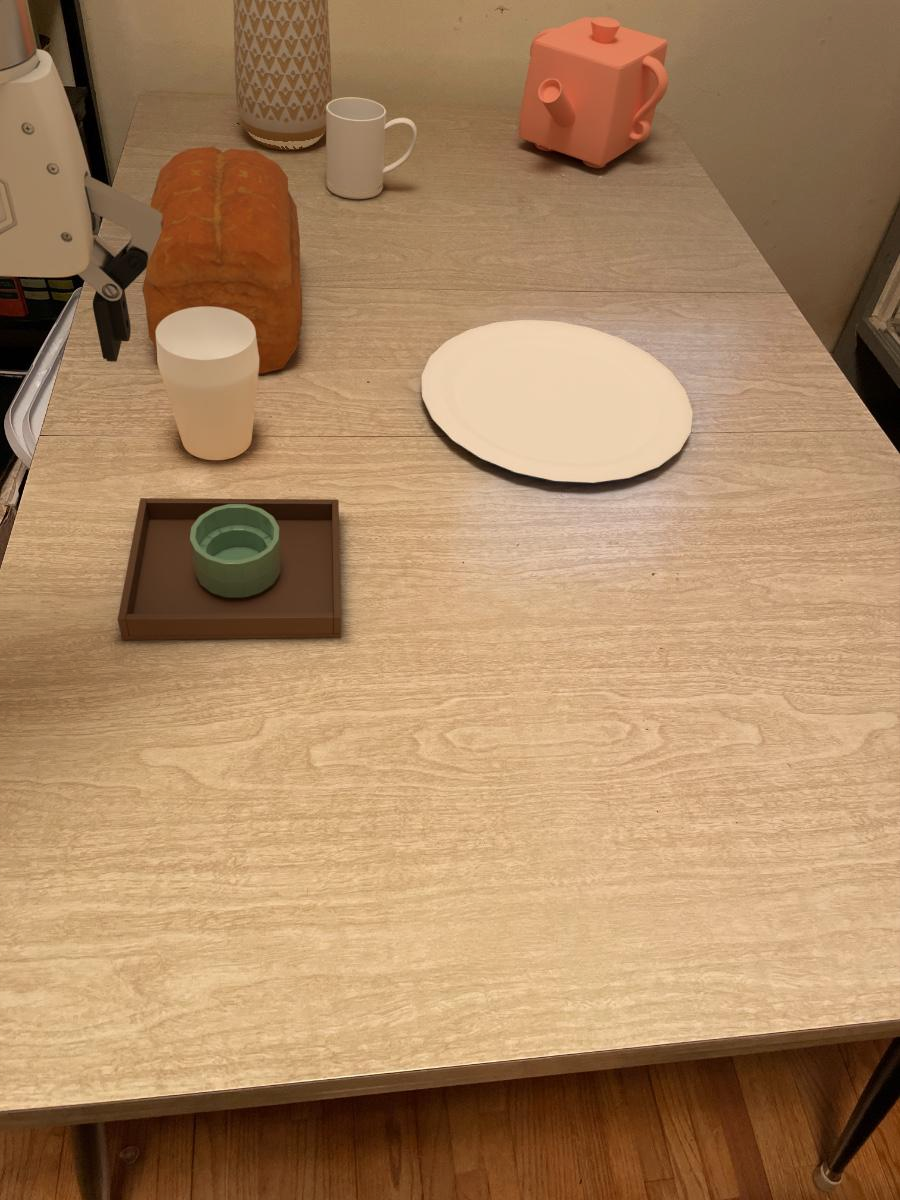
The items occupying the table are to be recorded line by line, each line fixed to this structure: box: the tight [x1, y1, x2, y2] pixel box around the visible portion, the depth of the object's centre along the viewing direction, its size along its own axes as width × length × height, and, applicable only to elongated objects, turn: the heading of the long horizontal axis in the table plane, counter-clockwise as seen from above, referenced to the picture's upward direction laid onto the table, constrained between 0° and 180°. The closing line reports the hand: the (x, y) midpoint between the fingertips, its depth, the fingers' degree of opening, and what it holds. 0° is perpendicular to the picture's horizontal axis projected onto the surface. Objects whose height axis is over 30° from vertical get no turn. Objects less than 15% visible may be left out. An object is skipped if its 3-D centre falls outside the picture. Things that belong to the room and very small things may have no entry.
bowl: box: [190, 504, 281, 598], centre depth 80 cm, size 7×7×4 cm
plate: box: [420, 319, 694, 485], centre depth 103 cm, size 29×29×2 cm
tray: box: [117, 497, 342, 641], centre depth 81 cm, size 17×14×2 cm
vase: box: [232, 0, 333, 151], centre depth 133 cm, size 14×14×31 cm
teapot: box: [518, 16, 669, 169], centre depth 143 cm, size 25×23×18 cm
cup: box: [155, 306, 260, 461], centre depth 90 cm, size 9×9×12 cm
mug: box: [325, 96, 418, 200], centre depth 131 cm, size 12×8×10 cm, turn 88°
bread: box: [141, 146, 303, 374], centre depth 105 cm, size 16×27×16 cm, turn 8°
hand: (30, 346), depth 57 cm, fingers open, 9 cm apart
